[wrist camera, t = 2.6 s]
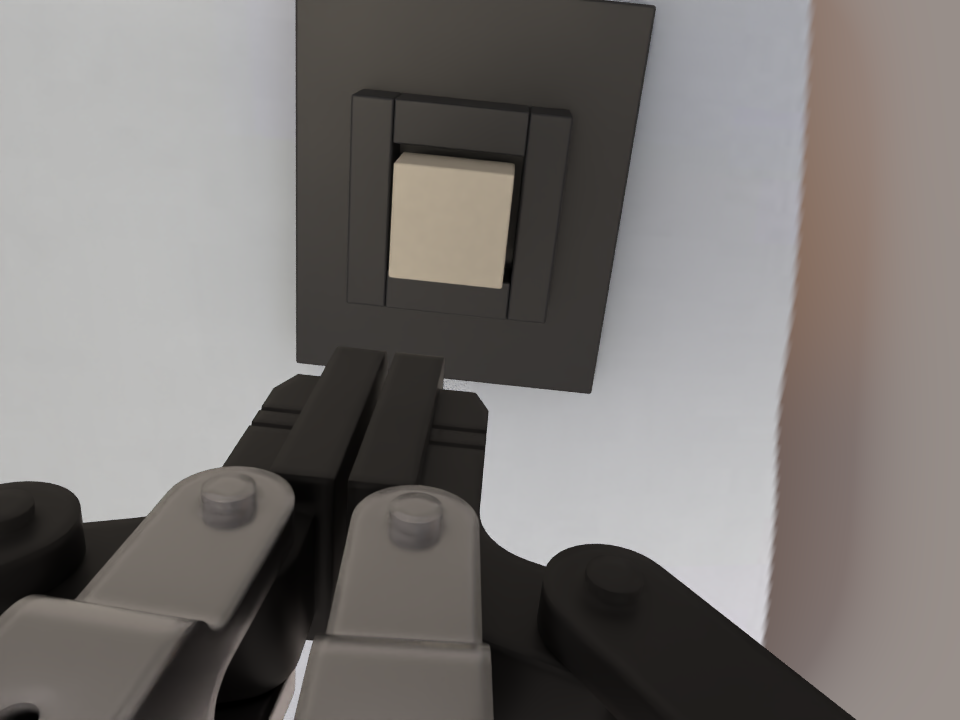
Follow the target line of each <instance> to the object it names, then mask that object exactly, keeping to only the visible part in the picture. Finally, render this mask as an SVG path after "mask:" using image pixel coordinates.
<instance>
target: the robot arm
mask: <svg viewBox="0 0 960 720" xmlns="http://www.w3.org/2000/svg"><path fill="white" fill-rule="evenodd" d="M444 365H445V358H444V357H437V356H427V355H418V354H409V353H399V352H396V353H395V355H394V358H393V360H392V363H391V366H390V369H389V371H388V354H387V351H379V350H370V349H360V348H351V347H341V346H338V347H336V349H335V351H334V353H333V354H332V356H331V358H330V360H329V362H328V364H327V365H326V367H325V369H324V371H323V373H322V374H321V376H311V375H302V374H297V375H296V376H294V377H292V378H290V379H289V380H287V381H285V382H284V383H282V384H280V385H278V386H277V387H275V388H273V390H272V392H271V393H270V395H269V396H268V398H267V399H266V401H265V402H264V404H263V405H262V409H261V410H259V411H258V413H257V414H256V416H255V418H254V419H253V421H252V425H251V426H250V425H249V427H248V428H247V430H246V431H245V433H244V434H243V436H242V437H241V439H240V440H239V442H238V444H237V445H236V447H235V448H234V450H233V451H232V453H231V454H230V456H229V457H228V459H227V460H226V462H225V463H224V465H223V466H222V467H220V468H215V469H210V470H206V471H202V472H199V473H196V474H194V475H191V476H189V477H187V478H185V479H183V480H181V481H180V482H179V483H177V484H176V485H174V486H173V487H172V488H171V489H170V490H169V491H168V492H167V493H166V494H165V496H164V497H163V498H162V499H161V500H160V501H159V503H158V504H157V505H156V506H155V507H154V508H153V510H152V511H151V512H150V513H149V514H148V515H147V516H146V517H138V518H130V519H119V520H109V521H98V522H87V523H83V521H82V514H81V506H80V503H79V500H78V498H77V497H76V496H75V495H74V493H72V492H71V491H69V490H68V489H66V488H64V487H61V486H59V485H55V484H51V483H45V482H32V481H25V482H12V483H4V484H0V720H283V719H284V716H285V714H286V712H287V709H288V707H289V704H290V702H291V700H292V697H293V694H294V691H295V668H296V666H297V663H298V661H299V659H300V656H301V653H302V650H303V647H304V644H305V641H306V640H313V643H312V646H311V650H310V654H309V658H308V662H307V667H306V671H305V675H304V679H303V683H302V688H301V692H300V696H299V700H298V704H297V709H296V713H295V717H294V720H856V719H855V718H853V717H852V716H851V715H850V714H848V713H847V712H846V711H844V710H843V709H842V708H841V707H839V706H838V705H837V704H836V703H834V702H833V701H832V700H830V699H829V698H828V697H827V696H825V695H824V694H823V693H822V692H820V691H819V690H818V689H816V688H815V687H814V686H813V685H811V684H810V683H809V682H808V681H806V680H805V679H804V678H802V677H801V676H800V675H799V674H797V673H796V672H795V671H794V670H792V669H791V668H790V667H788V666H787V665H786V664H785V663H783V662H782V661H781V660H779V659H778V658H777V657H776V656H774V655H773V654H772V653H771V652H769V651H768V650H767V649H766V648H764V647H763V646H762V645H760V644H759V643H758V642H757V641H755V640H754V639H753V638H752V637H750V636H749V635H748V634H746V633H745V632H744V631H743V630H741V629H740V628H739V627H738V626H736V625H735V624H734V623H732V622H731V621H730V620H729V619H727V618H726V617H725V616H724V615H722V614H721V613H720V612H718V611H717V610H716V609H715V608H713V607H712V606H711V605H710V604H708V603H707V602H706V601H704V600H703V599H702V598H701V597H699V596H698V595H697V594H696V593H694V592H693V591H692V590H690V589H689V588H688V587H687V586H685V585H684V584H683V583H682V582H680V581H679V580H678V579H676V578H675V577H674V576H673V575H671V574H670V573H669V572H668V571H666V570H665V569H664V568H662V567H661V566H660V565H658V564H657V563H655V562H654V561H653V560H651V559H649V558H647V557H645V556H644V555H642V554H639V553H637V552H634V551H632V550H629V549H625V548H622V547H618V546H613V545H605V544H585V545H578V546H574V547H571V548H568V549H565V550H563V551H561V552H559V553H558V554H557V555H555V556H554V557H553V558H552V559H551V560H550V561H549V563H548V564H547V566H546V567H545V566H542V565H539V564H537V563H534V562H531V561H528V560H525V559H523V558H520V557H518V556H516V555H514V554H512V553H510V552H508V551H507V550H505V549H504V548H502V547H501V546H499V545H498V544H497V543H496V542H495V541H494V540H492V539H491V538H490V536H489V535H488V534H487V533H486V531H485V529H484V528H483V526H482V523H481V520H480V501H481V490H482V479H483V467H484V456H485V445H486V433H487V422H488V410H487V408H486V407H485V405H484V404H483V402H482V401H481V400H480V398H479V397H478V395H477V394H476V393H473V392H463V391H454V390H444V389H443V380H444Z"/></svg>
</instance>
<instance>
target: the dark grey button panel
mask: <svg viewBox="0 0 960 720" xmlns="http://www.w3.org/2000/svg"><path fill="white" fill-rule="evenodd" d="M655 11H656V7H655V6H654V5H646V4H636V3H626V2H616V1H607V0H296V361H297V363H304V364H313V365H323V366H326V365H327V364H328V362H329V360H330V358H331V356H332V354H333V353H334V351H335V349H336V347H338V346H341V347H351V348H360V349H370V350H379V351H387V354H388V371H389V369H390V366H391V363H392V360H393V358H394V355H395V353H396V352H399V353H409V354H418V355H427V356H437V357H444V358H445V365H444V378H445V379H455V380H464V381H474V382H483V383H492V384H502V385H511V386H521V387H530V388H539V389H549V390H558V391H568V392H577V393H587V394H590V393H591V391H592V385H593V379H594V373H595V368H596V362H597V356H598V350H599V344H600V338H601V332H602V326H603V320H604V314H605V308H606V302H607V296H608V290H609V284H610V278H611V272H612V266H613V260H614V255H615V249H616V243H617V237H618V231H619V225H620V219H621V213H622V207H623V201H624V195H625V189H626V183H627V177H628V171H629V165H630V159H631V153H632V148H633V142H634V136H635V130H636V124H637V118H638V112H639V106H640V100H641V94H642V88H643V82H644V76H645V70H646V64H647V58H648V52H649V46H650V40H651V35H652V29H653V23H654V17H655ZM403 152H411V153H420V154H430V155H440V156H449V157H459V158H468V159H478V160H488V161H497V162H507V163H513V164H515V172H514V184H513V193H512V202H511V211H510V220H509V229H508V238H507V247H506V256H505V265H504V274H503V284H502V288H500V289H497V288H488V287H478V286H469V285H459V284H450V283H440V282H431V281H421V280H412V279H402V278H392V277H389V255H390V234H391V213H392V192H393V171H394V163H395V162H396V161H397V159H398V158H399V157H400V156H401V154H402V153H403Z"/></svg>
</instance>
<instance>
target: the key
mask: <svg viewBox="0 0 960 720" xmlns="http://www.w3.org/2000/svg"><path fill="white" fill-rule="evenodd" d="M514 172H515V164H513V163H507V162H497V161H488V160H478V159H468V158H459V157H449V156H440V155H430V154H420V153H411V152H403V153H402V154H401V156H400V157H399V158H398V159H397V161H396V162H395V163H394V171H393V192H392V213H391V234H390V255H389V277H392V278H402V279H412V280H421V281H431V282H440V283H450V284H459V285H469V286H478V287H488V288H497V289H500V288H502V284H503V274H504V265H505V256H506V247H507V238H508V229H509V220H510V211H511V202H512V193H513V184H514Z"/></svg>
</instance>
